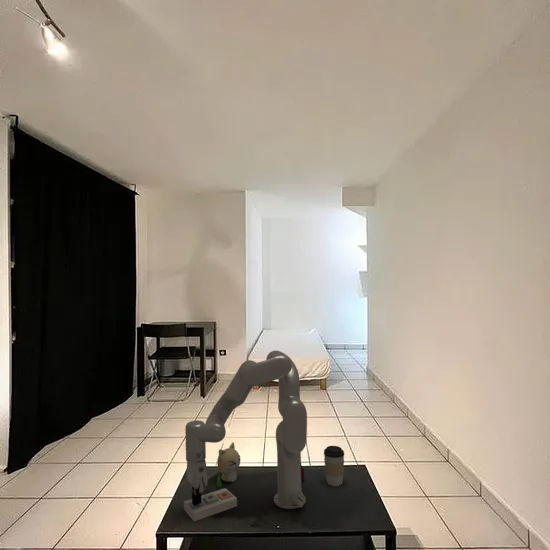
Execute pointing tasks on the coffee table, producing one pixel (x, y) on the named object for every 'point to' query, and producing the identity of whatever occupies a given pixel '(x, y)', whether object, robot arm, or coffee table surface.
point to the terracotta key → (224, 495)
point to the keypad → (210, 506)
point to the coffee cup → (334, 465)
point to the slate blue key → (195, 505)
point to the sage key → (210, 498)
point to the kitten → (228, 464)
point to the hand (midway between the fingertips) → (196, 503)
